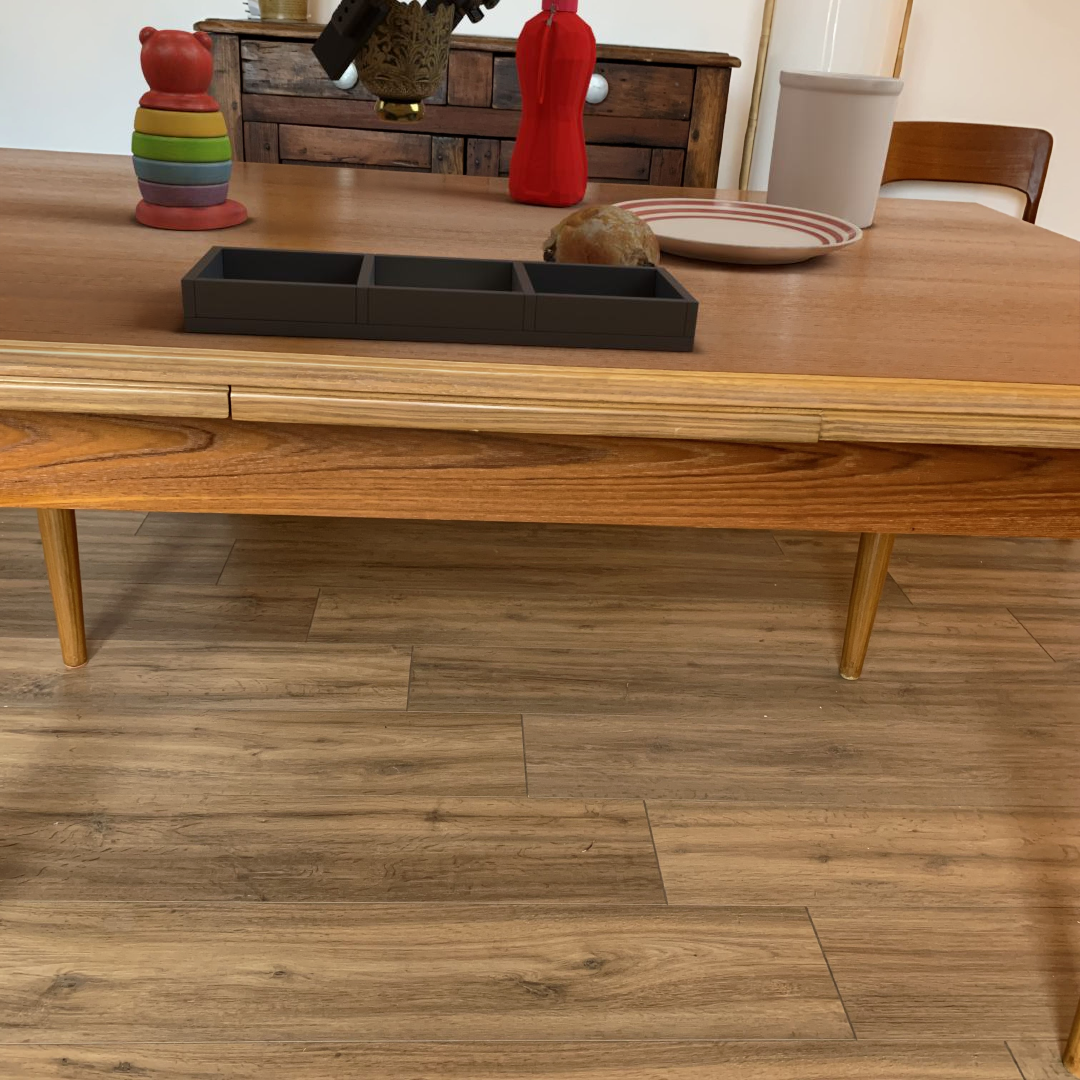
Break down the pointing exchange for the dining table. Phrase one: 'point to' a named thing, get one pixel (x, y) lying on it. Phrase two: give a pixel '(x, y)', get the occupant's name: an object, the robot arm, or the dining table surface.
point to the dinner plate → (741, 230)
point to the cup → (406, 59)
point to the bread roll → (602, 239)
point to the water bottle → (552, 106)
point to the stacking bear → (181, 137)
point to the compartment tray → (437, 299)
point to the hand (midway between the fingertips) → (364, 65)
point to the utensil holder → (832, 142)
